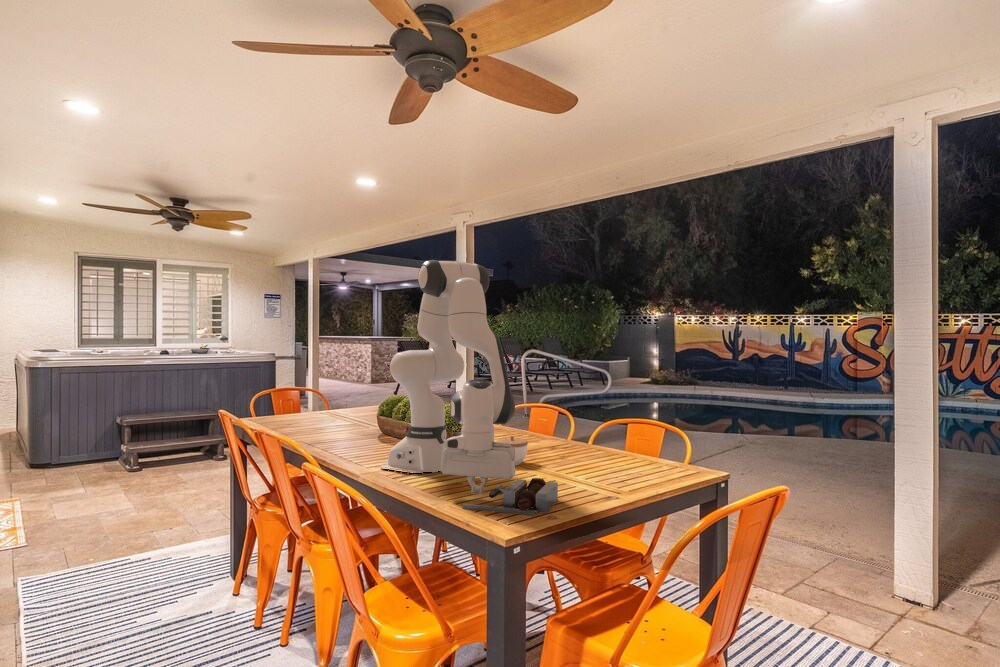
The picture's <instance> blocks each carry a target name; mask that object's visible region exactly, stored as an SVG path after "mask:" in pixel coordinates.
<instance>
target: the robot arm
mask: <svg viewBox="0 0 1000 667" xmlns="http://www.w3.org/2000/svg"><path fill="white" fill-rule="evenodd" d="M417 278H418V279H417V282H418V286H419V289H420V290H421V292H423V294H422V297H421V302H420V308H419V315H418V321H417V327H416V328H417V333H418V334H419V336H420V337H421V338H422V339H424V340H425V341H427V342H429V346H428V349H409V350H405V351H399V352H398V353H397V352H396V353H395V354H394V355H393V356H392V358H391V360H390V363H389V371H390V375H391V376H392V378H393V380H394V381H395V382H396V383H398V384H399V386H401V387H402V388H403V390H404V391H405V393H406V395H407V397H408V400H409V405H410V425H409V426H407V427H406V428H404V430H403V432H404V433H406V435H405V437H404V438H403V439H401V440H400V441H398V442H397V443H396V444H395V445H393V446H392V447H391V449H390V450H389V453H388V458H387V461H386V462H384V463H382V464H381V466H380V468H381V467H385V468H390V469H396V470H402V471H407V472H413V473H422V472H432V473H439V472H438V471H440V472H441V473H442V474H443V475H448V476H460V477H466V478H467V479H466V480H467V482H468V484H469V486H470V489H471V492H470V493H471V494H477V495H483V494H484V492H485V491H484V490H485V486H486V484H487V482H488V480H489V479H494V480H507V481H509V480H512V479H513V478H514V477H515V475H516V465H515V463H514V458H515V449H514V447H513V446H511V445H510V444H509V443H496V442H497V441H496V442H495V425H506V424H507V423H509V422H510V421H511V420H512V419H513V417H514V416H515V413H516V404H515V399H514V398H515V397H514V395H513V392H512V390H511V386H510V381H509V377H508V371H507V367H506V361H505V357H504V351H503V348H502V344H501V341H500V338H499V336H498V335H497V334H496V333H494V332H493V331H492V329H491V328H490V326H489V323H488V318H487V317H488V316H487V304H486V296H485V294H486V293H487V291H488V289H489V286H490V275H489V272H488V270H487V268H486V267H484V266H483V265H481V264H477V263H469V262H465V261H459V260H437V259H432V260H431V259H429V260H426V261H424V262H423V263H422V264H421V265H420V267H419V270H418V277H417ZM453 340H454V341H455V342H456V343H457V344H458V345H460V346H462V347H463V348H467V349H468V350H472V351H474V352H476V353H479V354H480V355H482V356H483V357H484V358H485V359H486V360H487V362H488V365H489V370H490V376H491V380H492V383H491V382H490V381H488V380H483V379H470V380H466V381H465V382H464V383H463V386H462V389H461V390H458V391H456V392H455V393H454V394H453V395H452V396H451V397H450V400H449V404H450V406H449V407H450V408H449V410H450V411H449V416H450V417H449V418H451V419H452V420H453V421H454V422H456V423H457V424H459V425H461V434H456V435H455V436H451V437H448V438H447V424H445V423H446V422H445V421H446V416H445V415H446V413H445V412H446V408H445V407H446V406H445V402H444V400H443V398H442V397H440V396H439V395H437V394H436V393H433V391H432V389H431V384H436V383H437V384H438V383H439V384H440V383H448V382H452V381H456V380H459V379H460V378H461V376H462V375H463V373H464V372H465V371H464V370H465V361H464V359H463V356H462V355H461V354H460V353H459V352H458V351H457V349H456V348H455V346H454V342H453ZM509 447H512V448H509ZM422 474H423V473H422ZM476 478H480V482H481V484H480V485H477V484H476V482H475V479H476Z"/></svg>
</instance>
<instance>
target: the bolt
mask: <svg viewBox="0 0 1000 667" xmlns="http://www.w3.org/2000/svg"><path fill="white" fill-rule="evenodd" d="M546 484H547V482H546V480H544V478H538V477H533V478H531V480H530V481H529V483H528V484H527V490H523V492H522V493H521V495H520V497H519V501H518V505H517V507H518V509H524V510H530V509H534V508H535V507H536V494H537V492H538V491H539V490H540V489H541V488H543V487H544V486H545V485H546Z"/></svg>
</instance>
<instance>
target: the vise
mask: <svg viewBox="0 0 1000 667" xmlns="http://www.w3.org/2000/svg"><path fill="white" fill-rule="evenodd" d="M558 486H559V484H558V482H556V481H555V482H554V481H547V482H546V485H545V486H544V487H543V488H541V489H540V490H539V491H538V492H537V494H536V505H535V507H536V510H534V509H533V510H532V509H528V510H524V509H520V508H516V507H515V508H505V507H503V506H492V505H485V504H474V503H467V502H466V503H463V504H461V505H462V506H461V509H466V510H467V509H468V510H473V509H475V511H482V510H483V512H492V511H494V513H501V512H503V513H504V514H513V515H521V516H532V517H537V513H539V514H546V515H547V514H548V512H549V511H550V510H551V509H552V507H553V506H554V505H555V504H557V502H558V500H559V497H558V496H559V494H558V492H559V490H558V488H559V487H558ZM484 510H485V511H484ZM503 513H502V514H503Z"/></svg>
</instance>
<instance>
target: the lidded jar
mask: <svg viewBox="0 0 1000 667" xmlns="http://www.w3.org/2000/svg"><path fill="white" fill-rule="evenodd" d="M528 442H529V441H528V440H526V439H523V438H517V437H514V436H513V435H511V436H510V437H509V438H501V439H497V440H496V443H509V444H510V445H511V446H513V447H514V449H515V458H514V463H515V466H519V464H520V465H522V463H523V462H524V460H525V459H526V457H527V455H528V444H529V443H528ZM509 448H512V447H509Z"/></svg>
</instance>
